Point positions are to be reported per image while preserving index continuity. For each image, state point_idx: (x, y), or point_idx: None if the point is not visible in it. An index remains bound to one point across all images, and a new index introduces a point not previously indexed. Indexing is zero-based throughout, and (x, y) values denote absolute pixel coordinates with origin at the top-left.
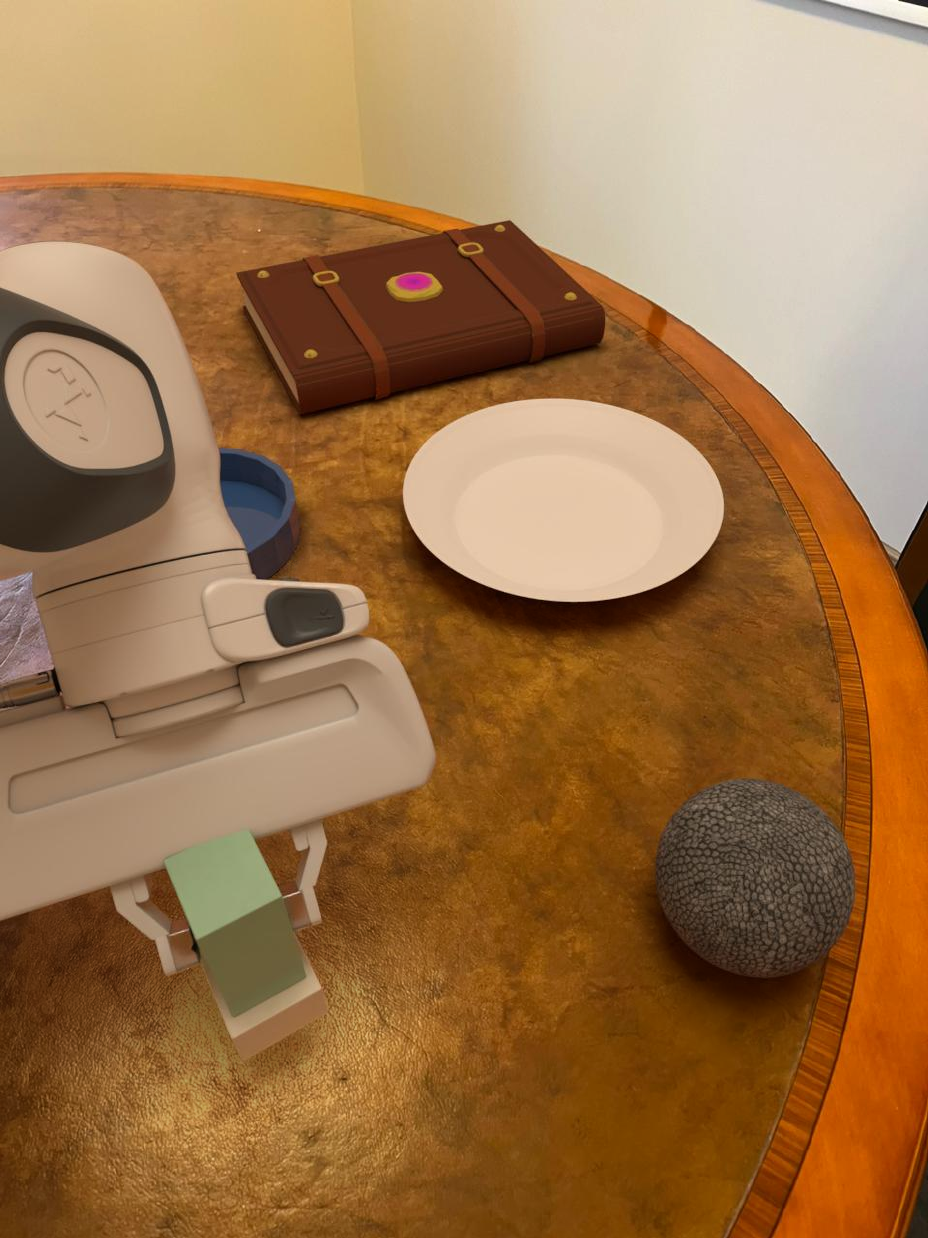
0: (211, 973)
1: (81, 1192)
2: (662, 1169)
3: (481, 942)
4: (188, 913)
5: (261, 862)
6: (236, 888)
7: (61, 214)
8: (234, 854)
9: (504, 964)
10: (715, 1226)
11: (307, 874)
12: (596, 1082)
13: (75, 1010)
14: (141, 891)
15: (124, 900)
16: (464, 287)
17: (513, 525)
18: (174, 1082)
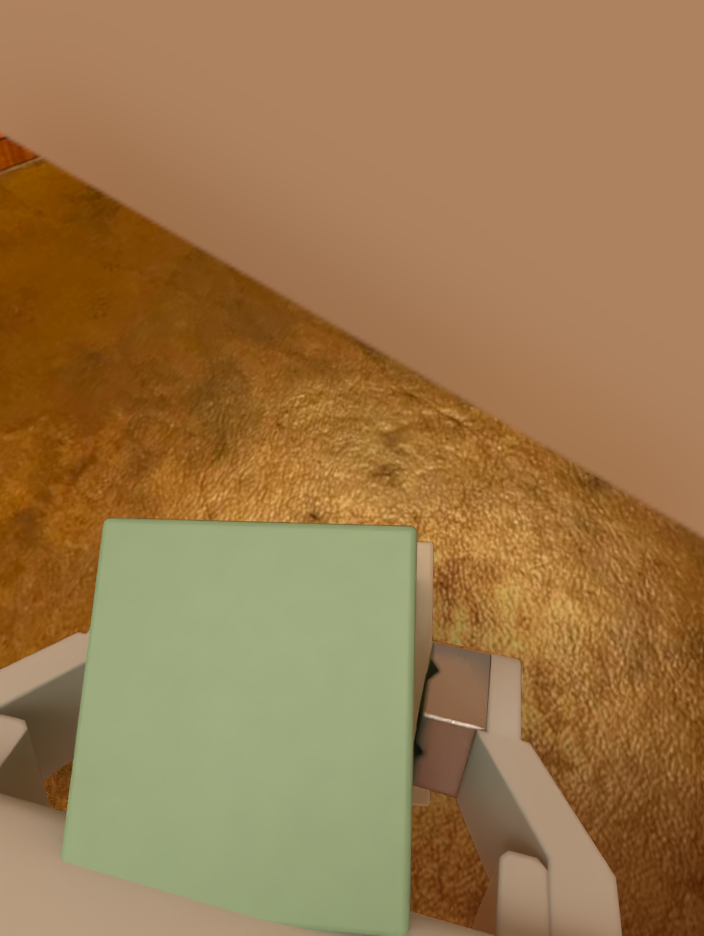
0: (418, 689)
1: (698, 582)
2: (55, 229)
3: (40, 578)
4: (402, 639)
5: (93, 681)
6: (215, 633)
7: None
8: (158, 780)
9: (35, 530)
10: (52, 165)
11: (67, 660)
12: (47, 338)
13: (651, 871)
14: (519, 892)
15: (583, 896)
16: None
17: None
18: (532, 652)
